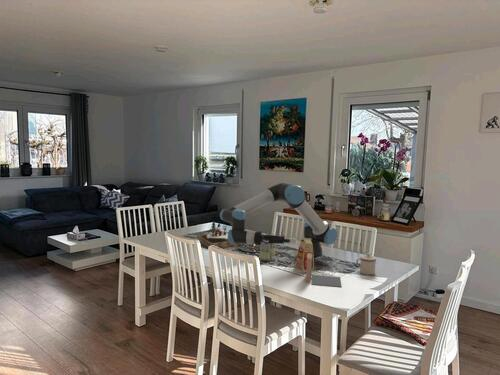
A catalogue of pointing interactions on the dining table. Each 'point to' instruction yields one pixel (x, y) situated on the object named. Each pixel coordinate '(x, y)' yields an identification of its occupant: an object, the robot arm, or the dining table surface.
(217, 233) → the miniature diorama
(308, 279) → the tile
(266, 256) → the coffee can
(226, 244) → the diorama tray
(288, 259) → the dining table surface
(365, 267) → the teacup with lid
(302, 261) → the milk carton
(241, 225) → the robot arm
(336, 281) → the mat
